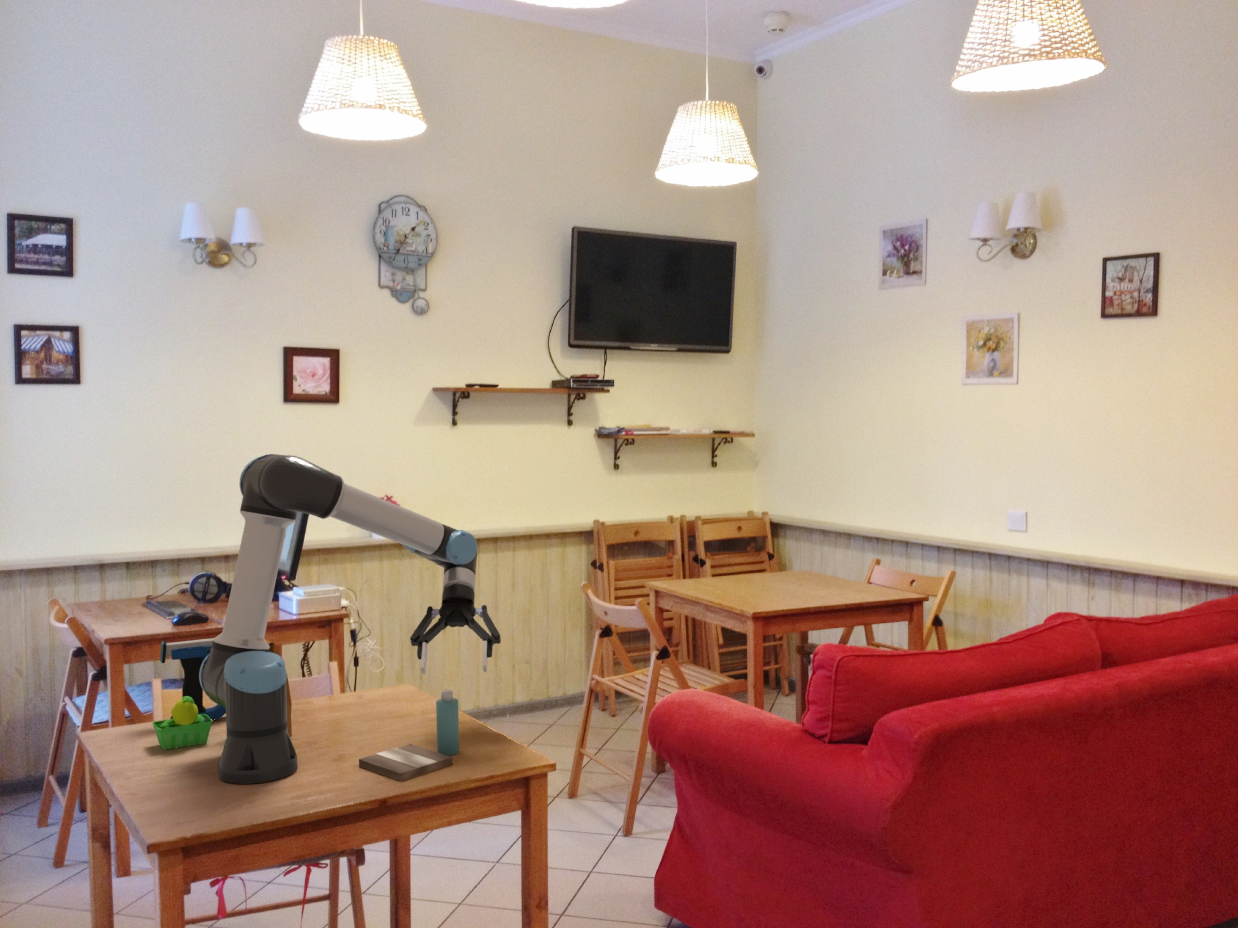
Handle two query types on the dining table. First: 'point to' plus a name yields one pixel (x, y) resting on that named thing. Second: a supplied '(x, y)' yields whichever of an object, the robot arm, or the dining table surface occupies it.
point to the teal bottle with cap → (447, 724)
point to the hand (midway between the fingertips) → (453, 669)
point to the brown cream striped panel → (405, 762)
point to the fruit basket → (183, 726)
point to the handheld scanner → (192, 671)
